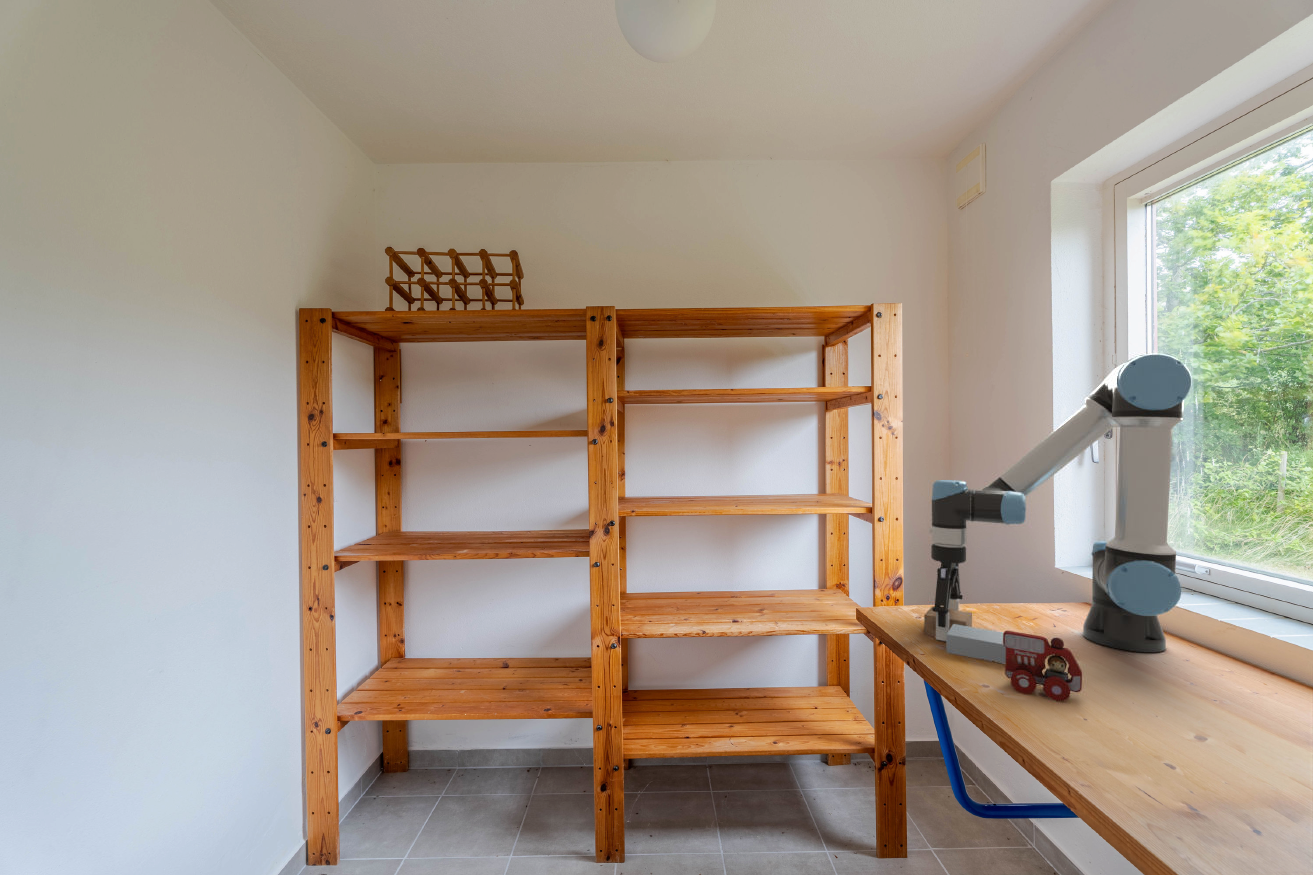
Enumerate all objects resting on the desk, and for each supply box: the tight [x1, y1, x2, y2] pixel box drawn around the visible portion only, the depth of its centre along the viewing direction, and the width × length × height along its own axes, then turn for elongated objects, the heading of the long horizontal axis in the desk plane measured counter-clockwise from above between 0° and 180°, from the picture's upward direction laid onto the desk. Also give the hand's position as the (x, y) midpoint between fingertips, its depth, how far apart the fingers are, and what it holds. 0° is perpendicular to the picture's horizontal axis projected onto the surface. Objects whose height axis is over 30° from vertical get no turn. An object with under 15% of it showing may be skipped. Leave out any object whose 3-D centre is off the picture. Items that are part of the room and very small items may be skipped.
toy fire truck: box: [1003, 630, 1083, 702], centre depth 110 cm, size 7×12×10 cm, turn 56°
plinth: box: [945, 624, 1006, 665], centre depth 129 cm, size 16×9×4 cm, turn 54°
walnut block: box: [923, 606, 973, 638], centre depth 143 cm, size 9×9×5 cm
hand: (947, 632), depth 143 cm, fingers open, 13 cm apart
